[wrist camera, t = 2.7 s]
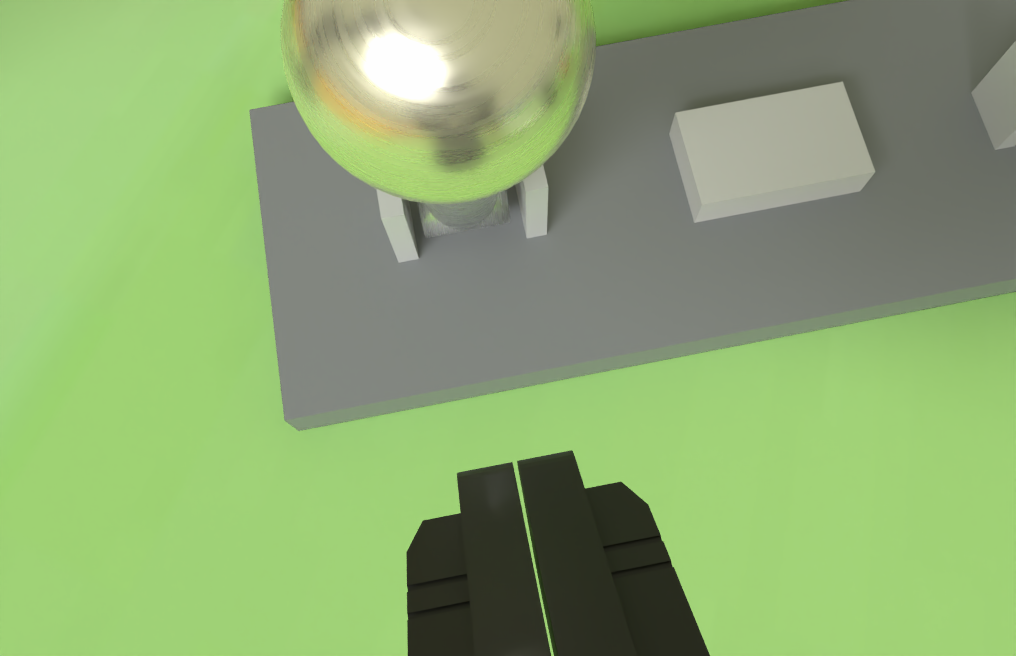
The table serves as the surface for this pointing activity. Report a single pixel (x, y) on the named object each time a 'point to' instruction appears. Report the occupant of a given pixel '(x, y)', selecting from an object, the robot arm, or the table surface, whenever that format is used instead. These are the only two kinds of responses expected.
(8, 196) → the table surface
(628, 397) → the table surface
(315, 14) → the metal lever
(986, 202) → the switch panel
